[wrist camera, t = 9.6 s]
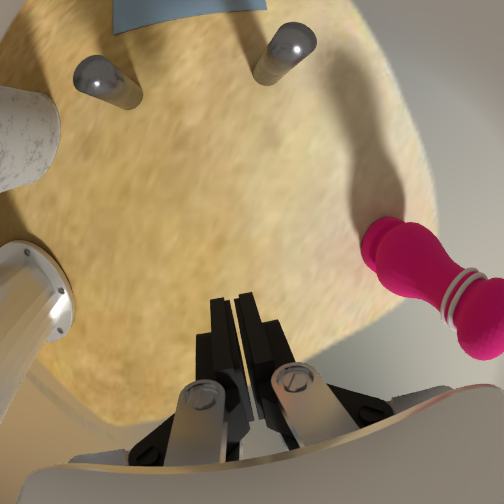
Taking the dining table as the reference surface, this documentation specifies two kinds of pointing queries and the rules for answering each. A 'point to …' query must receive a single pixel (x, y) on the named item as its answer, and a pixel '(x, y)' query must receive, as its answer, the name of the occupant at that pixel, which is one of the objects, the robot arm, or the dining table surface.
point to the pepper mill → (438, 283)
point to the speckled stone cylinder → (26, 136)
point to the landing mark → (172, 10)
